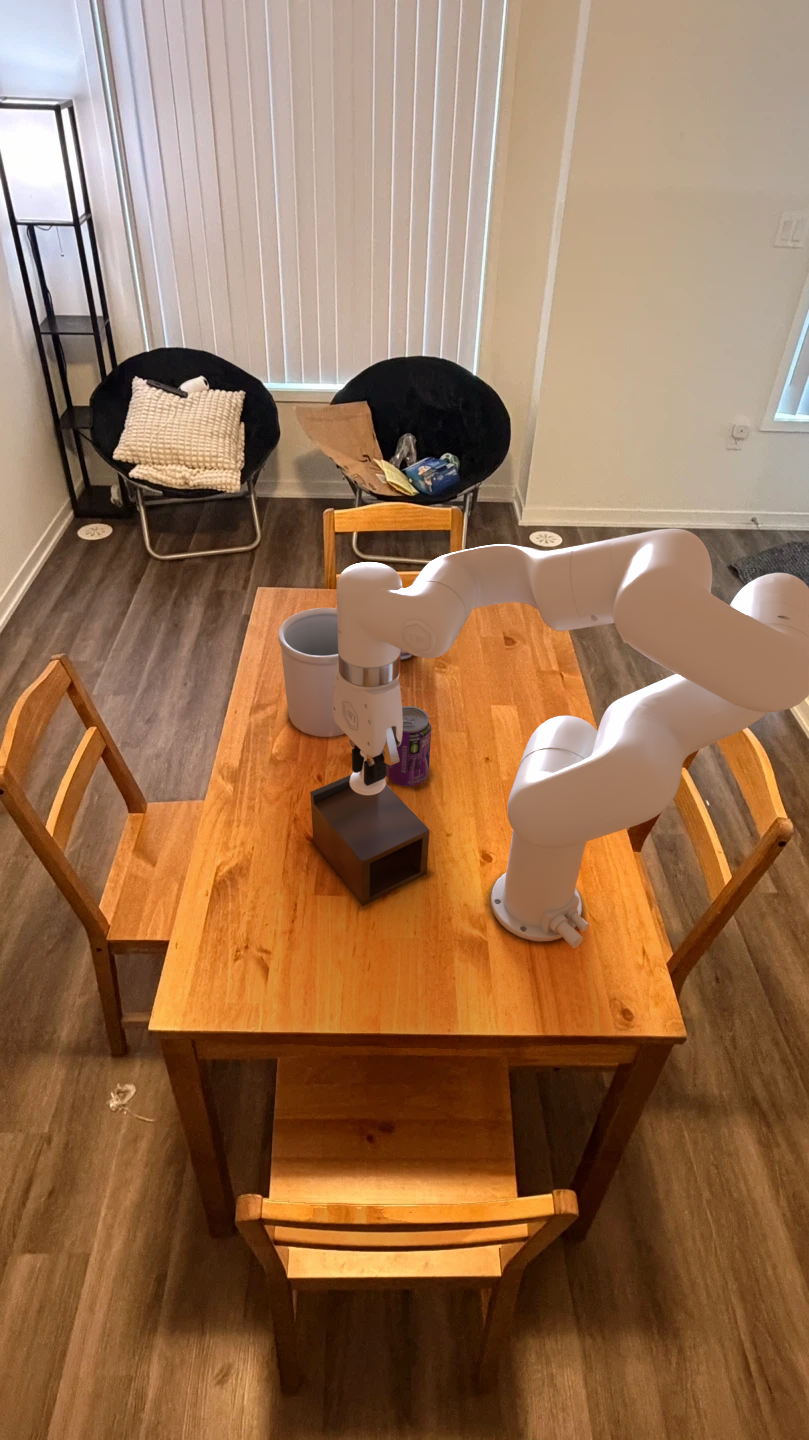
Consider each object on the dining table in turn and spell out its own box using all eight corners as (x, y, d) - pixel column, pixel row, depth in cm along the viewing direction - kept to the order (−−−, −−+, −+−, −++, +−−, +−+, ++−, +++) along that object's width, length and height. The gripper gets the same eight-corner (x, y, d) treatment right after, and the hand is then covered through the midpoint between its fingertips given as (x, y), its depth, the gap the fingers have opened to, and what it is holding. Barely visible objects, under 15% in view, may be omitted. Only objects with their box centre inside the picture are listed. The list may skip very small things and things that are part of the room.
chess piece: (350, 769, 118) (350, 713, 112) (386, 771, 118) (388, 715, 112) (348, 794, 114) (348, 738, 108) (385, 796, 114) (387, 740, 108)
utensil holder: (348, 749, 145) (347, 664, 134) (270, 727, 149) (262, 644, 138) (380, 700, 156) (382, 618, 145) (306, 681, 159) (302, 600, 148)
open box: (426, 873, 124) (430, 821, 117) (362, 906, 119) (362, 854, 112) (374, 815, 133) (375, 763, 126) (312, 844, 128) (309, 791, 121)
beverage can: (424, 793, 137) (427, 735, 129) (381, 786, 138) (381, 728, 130) (432, 764, 142) (435, 707, 135) (390, 757, 143) (391, 701, 136)
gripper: (309, 640, 107) (315, 751, 119) (379, 707, 97) (377, 821, 108) (360, 623, 110) (361, 733, 122) (432, 686, 100) (425, 799, 112)
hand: (368, 773), depth 115 cm, fingers closed on chess piece
